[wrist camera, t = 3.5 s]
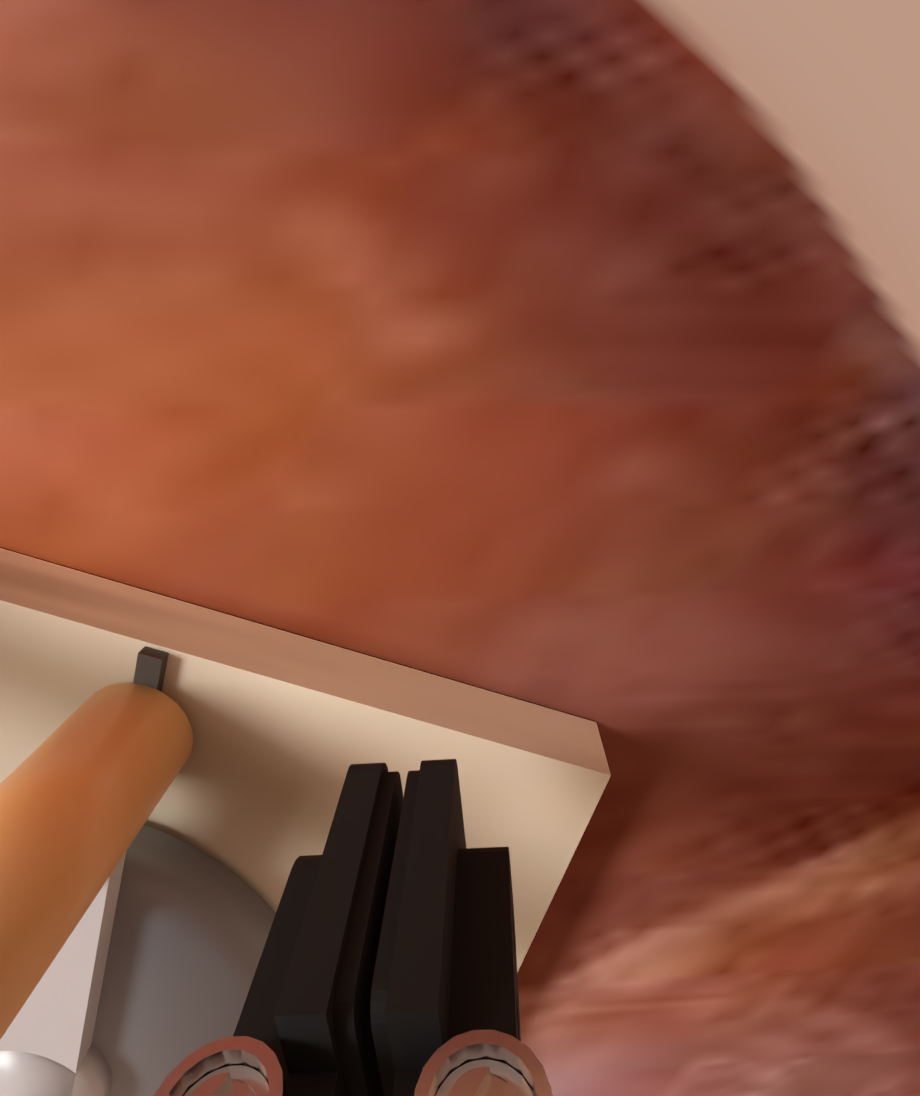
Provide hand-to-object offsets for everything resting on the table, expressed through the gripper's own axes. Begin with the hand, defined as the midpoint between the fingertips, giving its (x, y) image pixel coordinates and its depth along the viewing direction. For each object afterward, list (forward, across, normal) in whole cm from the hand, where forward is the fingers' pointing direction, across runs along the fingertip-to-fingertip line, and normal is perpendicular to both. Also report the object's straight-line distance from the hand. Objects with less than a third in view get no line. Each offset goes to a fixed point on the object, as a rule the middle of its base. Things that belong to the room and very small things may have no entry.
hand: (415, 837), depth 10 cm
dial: (+4, +9, +6) cm, 11 cm away
